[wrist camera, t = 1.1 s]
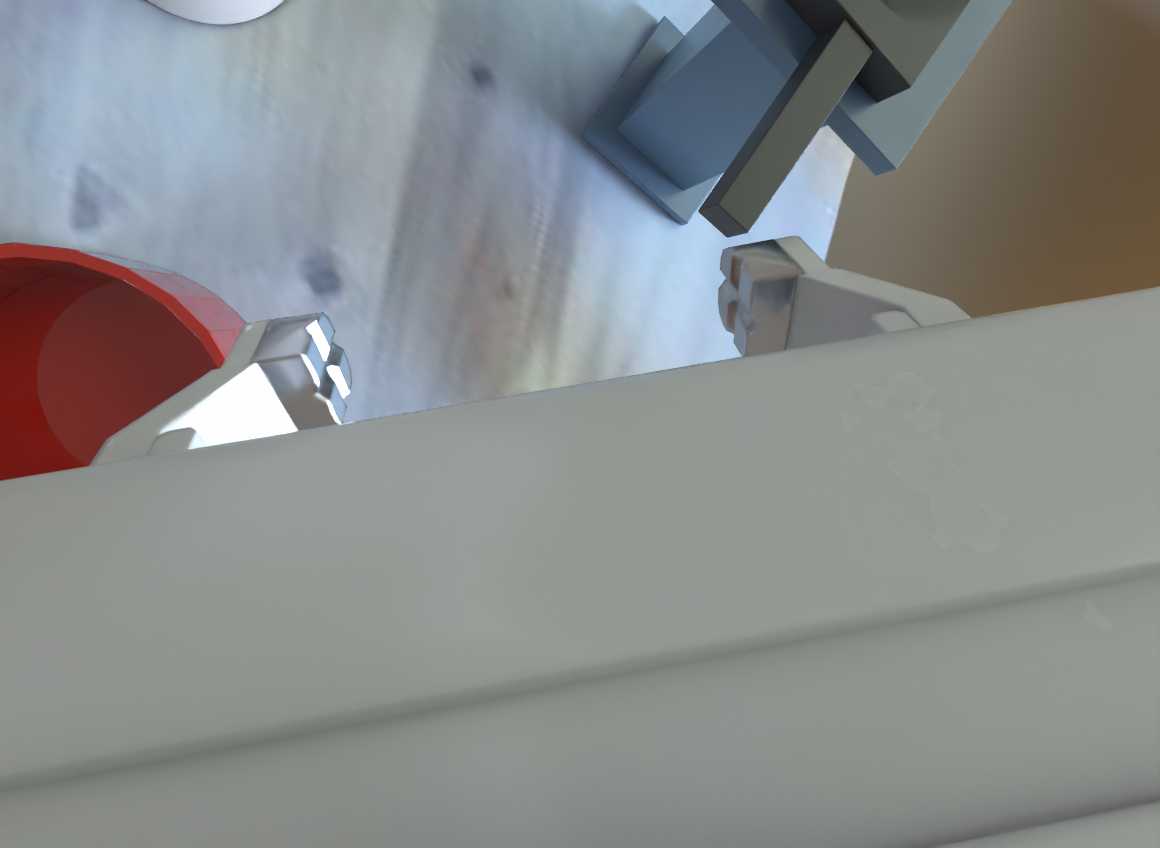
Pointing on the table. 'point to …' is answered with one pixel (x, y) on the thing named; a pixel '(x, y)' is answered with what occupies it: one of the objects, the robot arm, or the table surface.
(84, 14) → the table surface
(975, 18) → the stand
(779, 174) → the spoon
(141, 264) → the pot
